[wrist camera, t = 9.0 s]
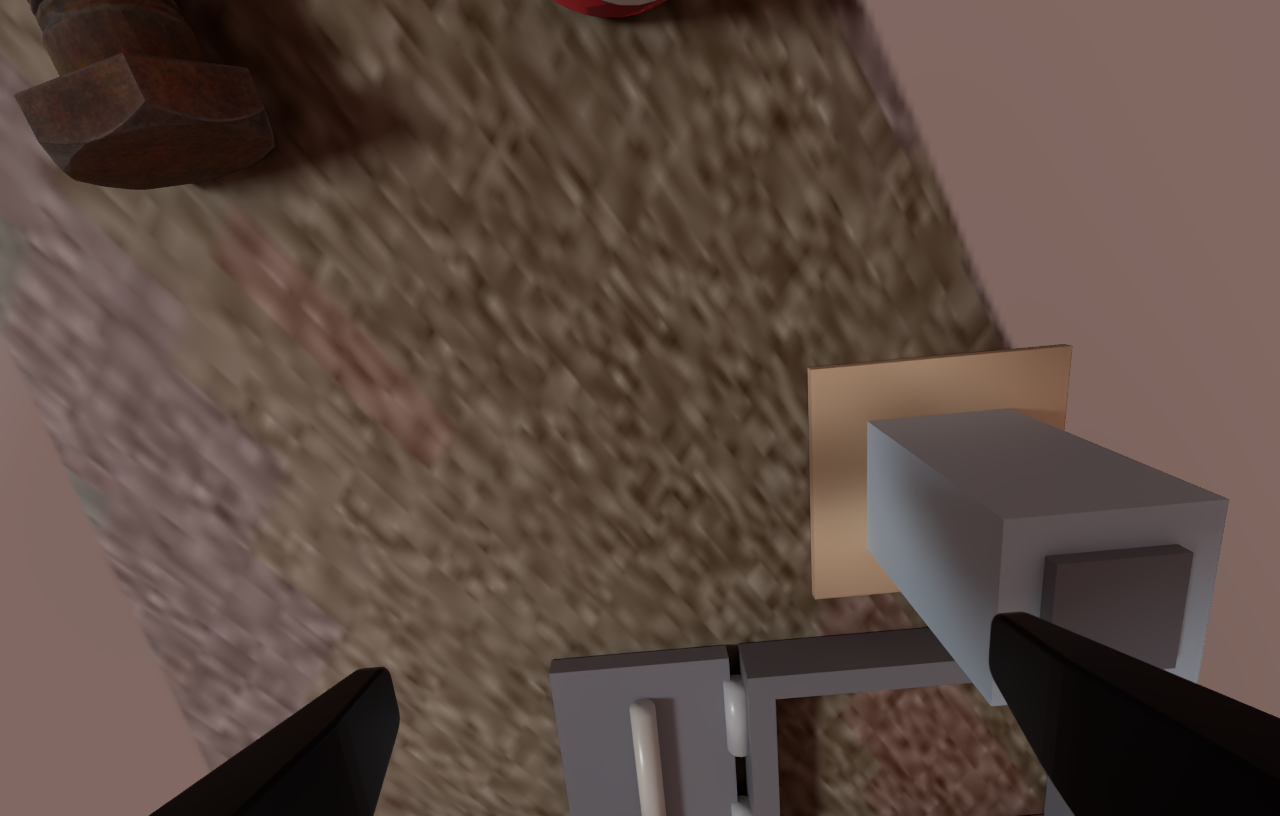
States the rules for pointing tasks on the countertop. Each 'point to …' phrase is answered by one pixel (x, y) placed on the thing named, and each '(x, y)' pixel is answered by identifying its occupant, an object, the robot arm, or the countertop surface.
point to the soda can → (610, 7)
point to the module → (1040, 537)
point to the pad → (901, 392)
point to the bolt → (140, 98)
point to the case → (717, 718)
